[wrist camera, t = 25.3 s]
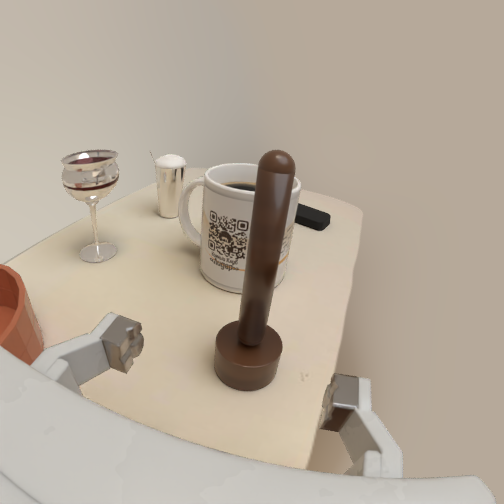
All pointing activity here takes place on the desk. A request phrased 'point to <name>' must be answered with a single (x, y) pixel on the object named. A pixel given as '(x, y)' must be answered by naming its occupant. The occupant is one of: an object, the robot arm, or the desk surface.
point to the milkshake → (169, 183)
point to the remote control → (312, 217)
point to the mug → (230, 223)
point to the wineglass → (92, 191)
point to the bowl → (18, 318)
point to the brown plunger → (258, 282)
